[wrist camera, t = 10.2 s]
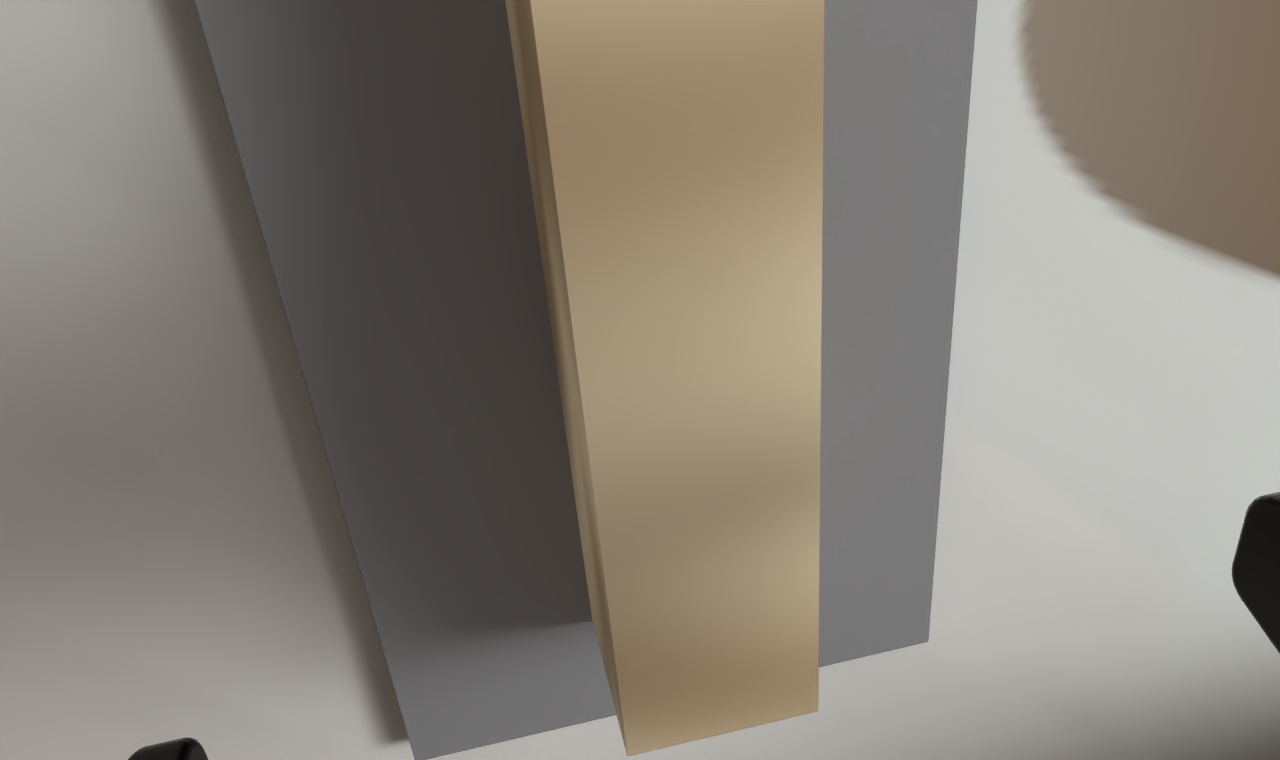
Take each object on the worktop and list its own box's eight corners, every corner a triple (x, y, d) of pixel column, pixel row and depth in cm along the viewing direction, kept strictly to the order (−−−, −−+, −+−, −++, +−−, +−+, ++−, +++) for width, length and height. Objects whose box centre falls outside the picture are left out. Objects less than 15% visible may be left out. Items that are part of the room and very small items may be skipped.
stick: (756, 585, 14) (818, 711, 12) (592, 621, 14) (627, 756, 12) (711, -855, 7) (833, -1120, 5) (384, -857, 7) (383, -1141, 5)
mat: (916, 624, 16) (928, 641, 16) (415, 740, 15) (415, 762, 14) (1043, -1252, 7) (1077, -1305, 7) (-179, -1331, 6) (-211, -1400, 6)
